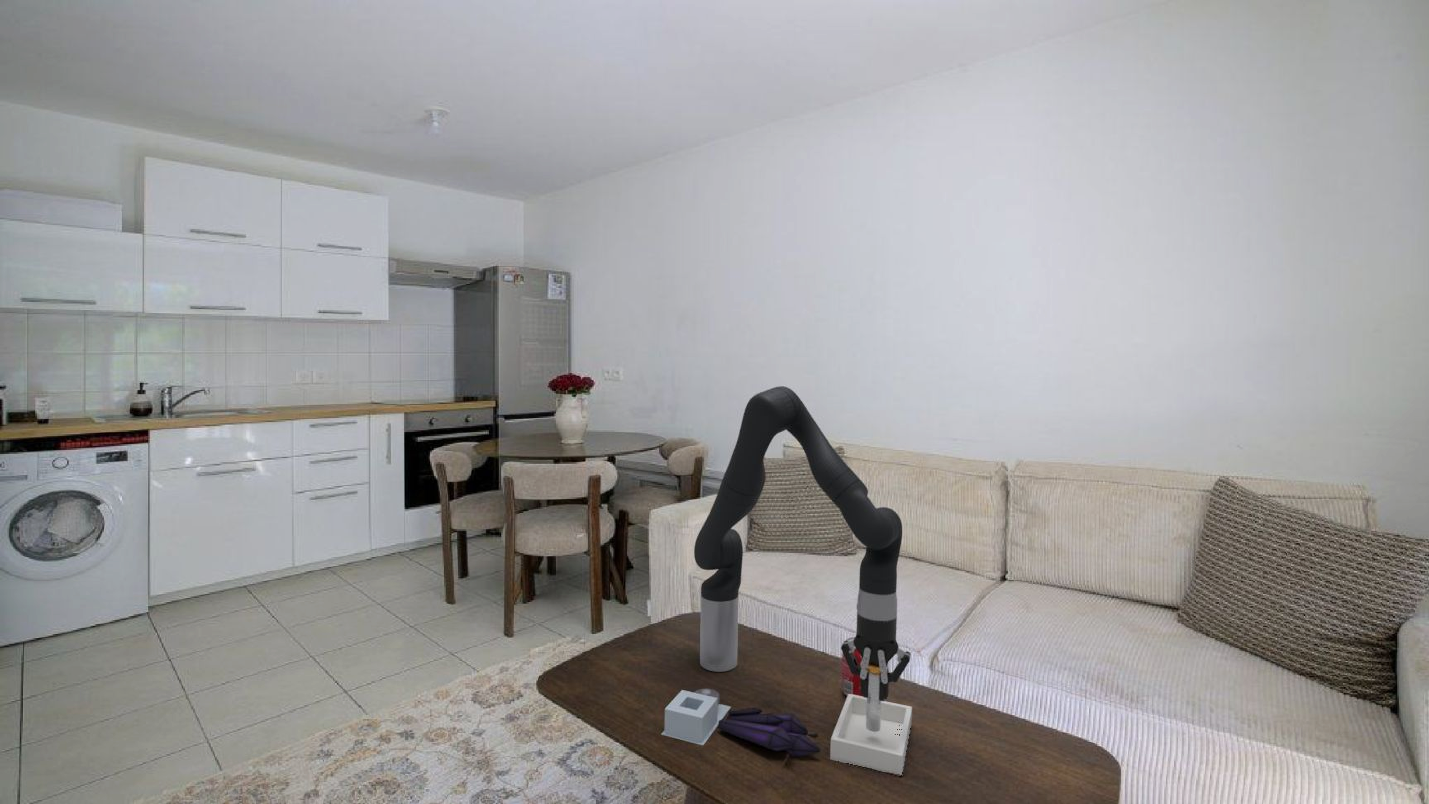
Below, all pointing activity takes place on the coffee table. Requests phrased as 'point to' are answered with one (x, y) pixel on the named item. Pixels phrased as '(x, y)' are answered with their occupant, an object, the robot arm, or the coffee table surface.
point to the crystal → (770, 731)
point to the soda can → (851, 675)
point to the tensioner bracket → (694, 715)
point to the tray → (872, 736)
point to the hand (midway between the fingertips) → (874, 697)
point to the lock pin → (873, 698)
